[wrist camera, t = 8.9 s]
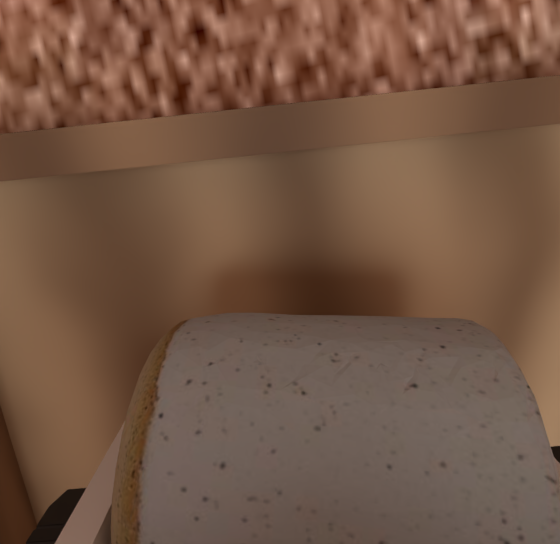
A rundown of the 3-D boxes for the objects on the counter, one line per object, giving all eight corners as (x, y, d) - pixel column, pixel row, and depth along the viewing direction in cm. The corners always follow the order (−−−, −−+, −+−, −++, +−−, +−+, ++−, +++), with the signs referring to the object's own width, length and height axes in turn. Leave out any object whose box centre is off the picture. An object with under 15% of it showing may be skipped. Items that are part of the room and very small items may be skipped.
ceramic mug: (178, 274, 13) (51, 437, 6) (442, 280, 13) (643, 447, 6) (191, 542, 16) (118, 870, 9) (407, 546, 16) (511, 875, 9)
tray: (35, 559, 20) (-22, 655, 16) (-93, 155, 15) (-217, 156, 12) (603, 511, 20) (682, 598, 16) (656, 77, 15) (788, 51, 11)
